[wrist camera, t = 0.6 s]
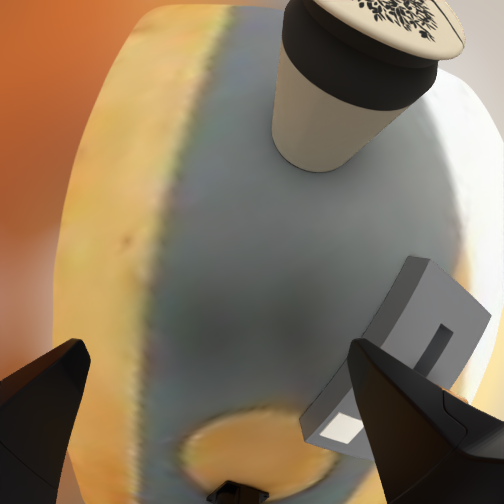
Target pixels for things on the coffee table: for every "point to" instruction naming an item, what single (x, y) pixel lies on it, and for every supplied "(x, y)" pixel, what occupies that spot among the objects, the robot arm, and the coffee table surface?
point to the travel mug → (354, 72)
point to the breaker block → (403, 349)
